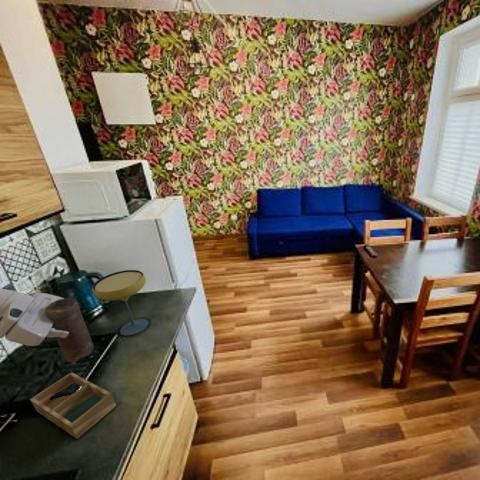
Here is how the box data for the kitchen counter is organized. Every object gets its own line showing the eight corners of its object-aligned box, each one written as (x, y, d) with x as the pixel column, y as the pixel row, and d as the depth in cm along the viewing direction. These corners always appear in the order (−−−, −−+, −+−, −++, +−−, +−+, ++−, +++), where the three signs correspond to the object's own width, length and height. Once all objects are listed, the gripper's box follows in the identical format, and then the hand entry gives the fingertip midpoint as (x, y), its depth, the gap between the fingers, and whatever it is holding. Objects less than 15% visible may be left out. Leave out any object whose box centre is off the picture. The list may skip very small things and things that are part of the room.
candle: (94, 342, 93) (74, 294, 85) (97, 354, 88) (77, 304, 80) (65, 354, 88) (41, 304, 80) (66, 367, 83) (41, 315, 75)
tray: (36, 411, 85) (29, 399, 83) (77, 383, 94) (71, 371, 92) (77, 439, 78) (70, 426, 75) (116, 405, 87) (111, 393, 85)
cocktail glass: (101, 344, 111) (80, 294, 102) (122, 316, 128) (106, 271, 118) (148, 338, 115) (132, 289, 105) (163, 312, 131) (150, 268, 121)
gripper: (24, 299, 84) (74, 315, 92) (-12, 341, 67) (53, 356, 75) (37, 283, 84) (86, 300, 92) (5, 322, 68) (68, 339, 76)
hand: (71, 326), depth 84 cm, fingers closed on candle, 7 cm apart
